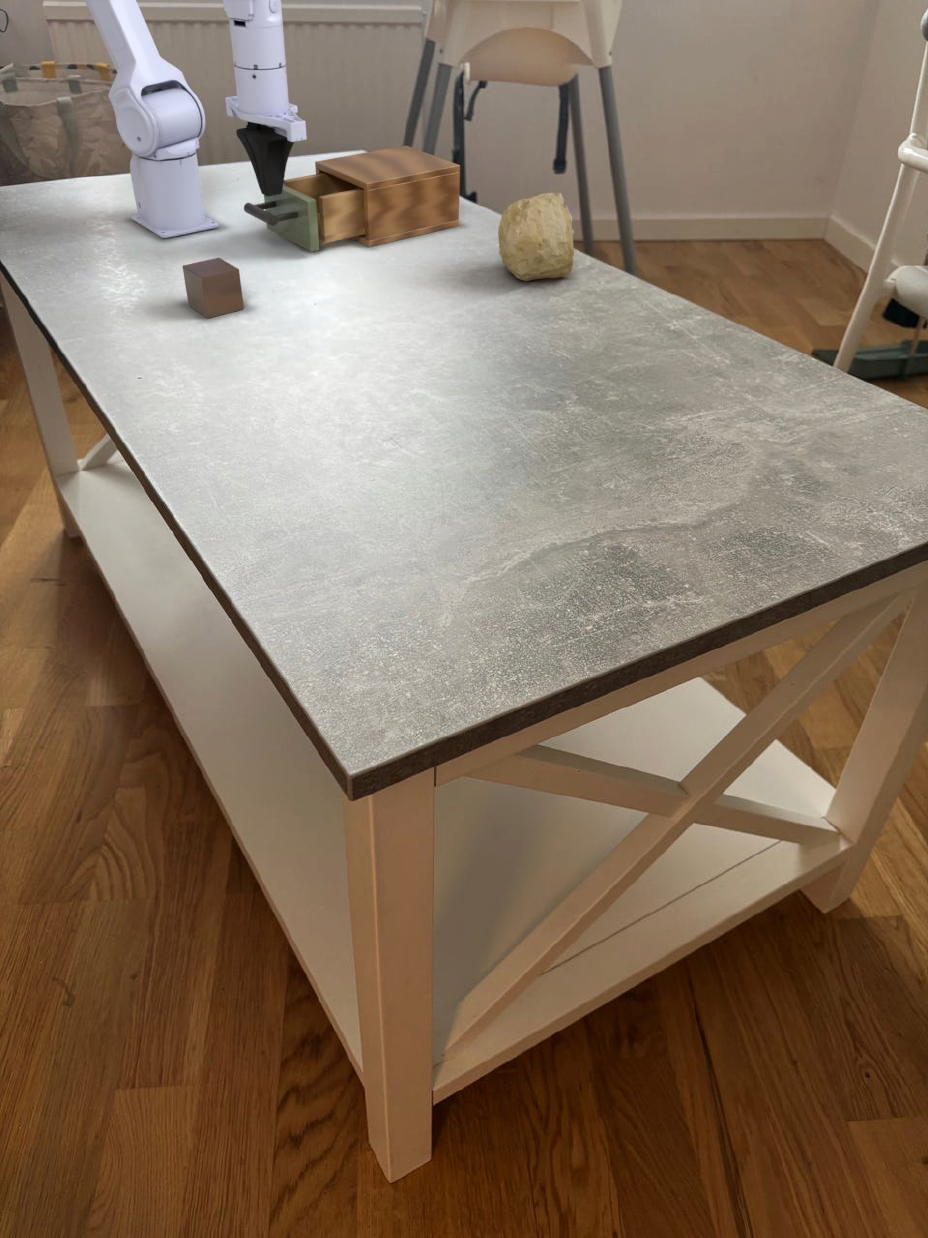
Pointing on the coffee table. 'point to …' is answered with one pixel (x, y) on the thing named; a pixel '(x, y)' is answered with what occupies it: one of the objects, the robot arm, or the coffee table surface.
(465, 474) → the coffee table surface
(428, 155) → the cabinet
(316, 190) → the drawer
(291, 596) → the coffee table surface
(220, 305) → the block
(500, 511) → the coffee table surface
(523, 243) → the beige lumpy stone
